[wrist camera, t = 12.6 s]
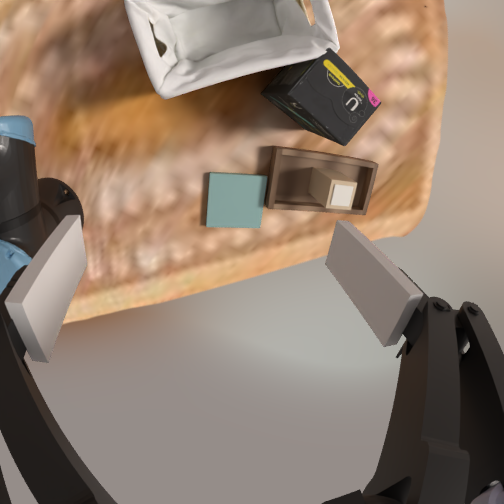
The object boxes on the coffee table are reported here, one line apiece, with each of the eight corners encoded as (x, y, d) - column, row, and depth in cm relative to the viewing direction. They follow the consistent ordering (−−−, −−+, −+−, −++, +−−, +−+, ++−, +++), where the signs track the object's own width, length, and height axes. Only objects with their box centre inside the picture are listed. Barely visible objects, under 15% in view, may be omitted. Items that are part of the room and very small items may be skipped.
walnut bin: (264, 203, 54) (268, 208, 52) (273, 145, 48) (277, 148, 46) (359, 210, 59) (365, 215, 57) (371, 161, 53) (378, 164, 51)
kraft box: (308, 192, 54) (326, 208, 47) (312, 167, 51) (332, 179, 45) (331, 194, 55) (351, 210, 48) (336, 170, 53) (358, 183, 46)
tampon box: (337, 95, 45) (384, 102, 33) (306, 131, 48) (346, 148, 36) (292, 55, 40) (330, 45, 28) (259, 93, 43) (286, 94, 31)
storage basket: (165, 98, 41) (158, 105, 29) (135, 16, 31) (117, -8, 19) (302, 58, 41) (346, 55, 29) (277, -21, 32) (312, -49, 20)
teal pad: (206, 224, 53) (206, 227, 53) (209, 172, 49) (210, 173, 48) (258, 225, 56) (260, 228, 55) (266, 175, 51) (267, 176, 50)
